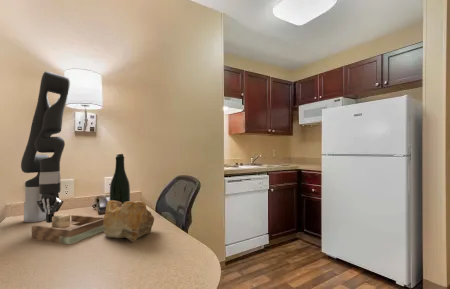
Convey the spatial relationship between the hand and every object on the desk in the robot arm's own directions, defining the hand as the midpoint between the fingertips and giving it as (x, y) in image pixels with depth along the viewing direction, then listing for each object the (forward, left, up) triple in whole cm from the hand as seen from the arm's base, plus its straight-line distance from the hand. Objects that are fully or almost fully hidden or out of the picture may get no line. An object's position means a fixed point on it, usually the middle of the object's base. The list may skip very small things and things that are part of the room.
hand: (50, 222), depth 104 cm
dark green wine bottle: (+10, +31, -4) cm, 33 cm away
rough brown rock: (+39, +5, -4) cm, 40 cm away
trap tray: (+13, 0, -4) cm, 13 cm away
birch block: (+7, 0, -1) cm, 7 cm away
